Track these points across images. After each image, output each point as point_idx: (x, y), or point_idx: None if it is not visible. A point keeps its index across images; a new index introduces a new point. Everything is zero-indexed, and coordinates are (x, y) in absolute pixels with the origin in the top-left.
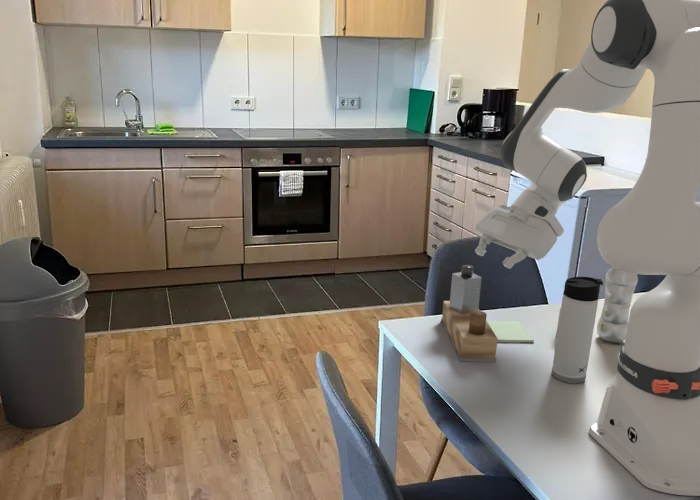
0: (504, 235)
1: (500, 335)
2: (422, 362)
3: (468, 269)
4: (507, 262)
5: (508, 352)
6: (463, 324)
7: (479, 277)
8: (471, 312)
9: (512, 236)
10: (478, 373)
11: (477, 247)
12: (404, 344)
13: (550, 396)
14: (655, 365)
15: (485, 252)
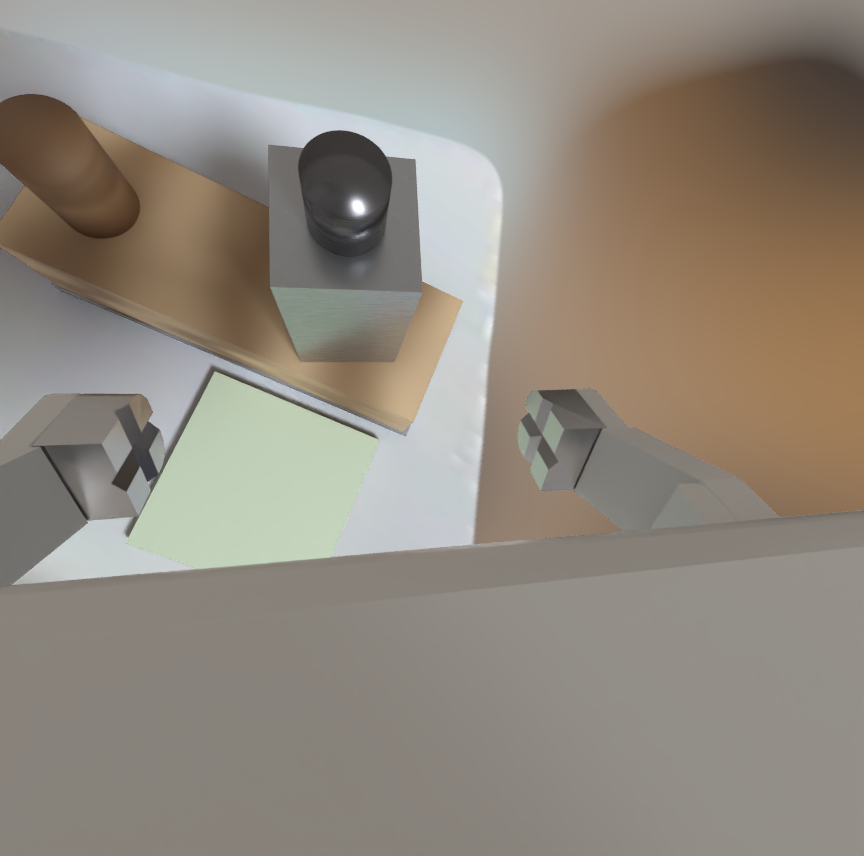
0: (359, 641)
1: (226, 439)
2: (178, 77)
3: (303, 153)
4: (46, 401)
5: (105, 386)
6: (198, 208)
7: (271, 267)
8: (70, 113)
9: (44, 746)
10: (12, 177)
11: (601, 404)
12: (322, 112)
13: None
14: None
15: (533, 474)
